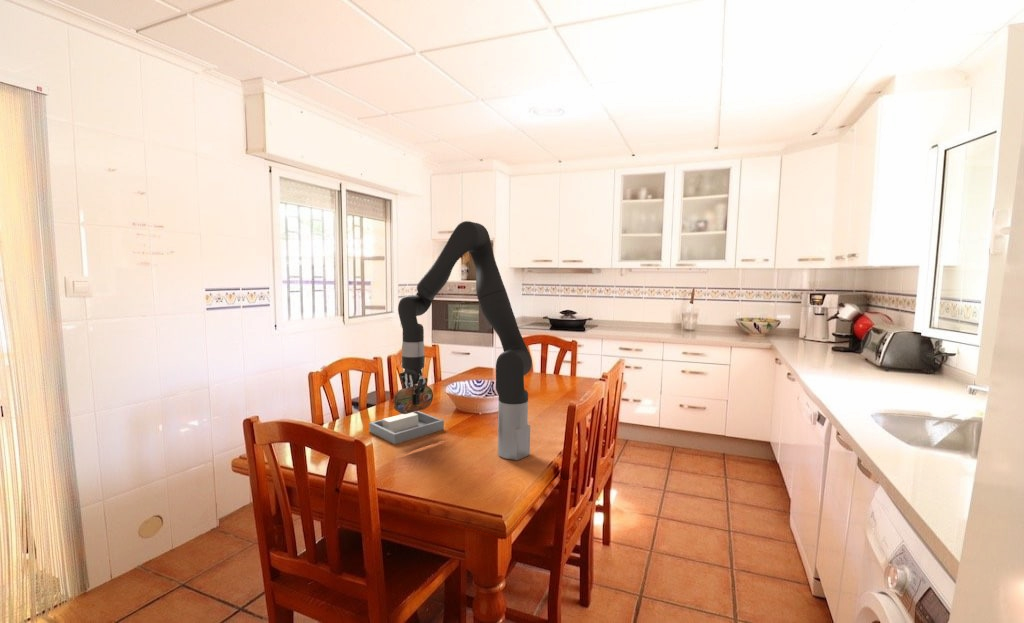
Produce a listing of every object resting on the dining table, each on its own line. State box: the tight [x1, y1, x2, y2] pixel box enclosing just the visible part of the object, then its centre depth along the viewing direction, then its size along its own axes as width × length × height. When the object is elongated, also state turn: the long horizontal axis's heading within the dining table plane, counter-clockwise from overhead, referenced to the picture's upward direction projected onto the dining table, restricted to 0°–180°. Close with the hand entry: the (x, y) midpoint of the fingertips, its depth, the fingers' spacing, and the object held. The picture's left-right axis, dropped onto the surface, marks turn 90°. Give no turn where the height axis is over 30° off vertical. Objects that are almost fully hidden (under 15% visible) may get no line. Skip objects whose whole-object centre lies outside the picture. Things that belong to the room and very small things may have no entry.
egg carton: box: [381, 412, 418, 432], centre depth 163 cm, size 4×12×4 cm, turn 136°
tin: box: [392, 385, 434, 415], centre depth 157 cm, size 15×3×8 cm, turn 136°
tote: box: [368, 410, 445, 445], centre depth 161 cm, size 16×20×4 cm
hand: (413, 403), depth 157 cm, fingers closed on tin, 2 cm apart
